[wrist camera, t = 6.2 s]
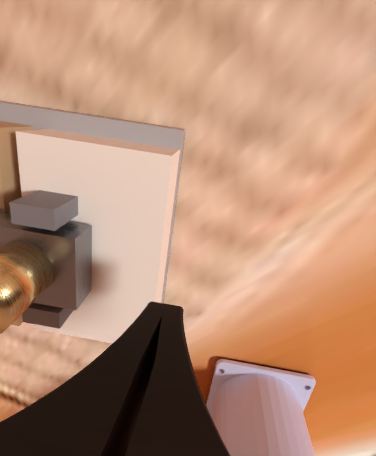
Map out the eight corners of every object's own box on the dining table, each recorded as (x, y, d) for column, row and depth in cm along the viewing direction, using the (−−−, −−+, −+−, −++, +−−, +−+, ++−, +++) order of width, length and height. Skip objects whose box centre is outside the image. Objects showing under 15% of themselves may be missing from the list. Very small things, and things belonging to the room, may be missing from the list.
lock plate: (161, 315, 22) (139, 394, 16) (-32, 280, 22) (-127, 342, 16) (185, 129, 16) (165, 136, 10) (-69, 90, 17) (-231, 74, 11)
